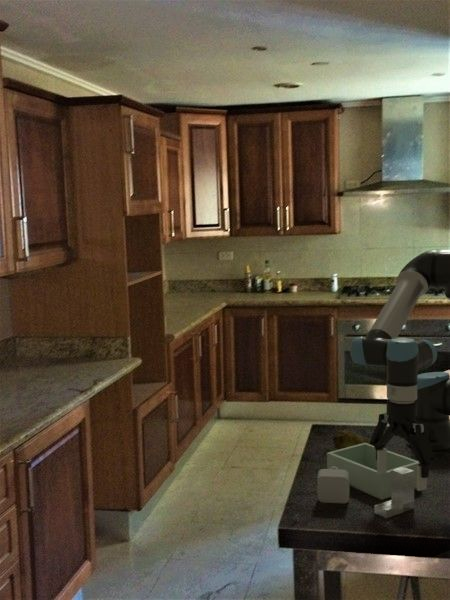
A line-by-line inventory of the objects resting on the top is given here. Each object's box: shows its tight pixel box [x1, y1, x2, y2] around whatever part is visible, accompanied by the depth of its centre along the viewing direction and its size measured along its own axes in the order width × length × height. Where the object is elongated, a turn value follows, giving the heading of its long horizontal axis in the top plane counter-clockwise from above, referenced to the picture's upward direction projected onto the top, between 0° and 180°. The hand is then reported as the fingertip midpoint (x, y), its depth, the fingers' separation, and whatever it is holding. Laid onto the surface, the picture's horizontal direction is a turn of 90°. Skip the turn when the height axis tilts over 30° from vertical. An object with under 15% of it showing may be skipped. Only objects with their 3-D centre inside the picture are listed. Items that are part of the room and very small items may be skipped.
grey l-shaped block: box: [374, 467, 415, 519], centre depth 185 cm, size 10×4×10 cm, turn 123°
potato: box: [332, 429, 371, 450], centre depth 228 cm, size 8×13×8 cm, turn 83°
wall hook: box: [316, 466, 350, 504], centre depth 196 cm, size 8×10×10 cm
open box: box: [326, 443, 420, 500], centre depth 206 cm, size 15×22×7 cm
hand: (401, 481), depth 186 cm, fingers open, 13 cm apart
